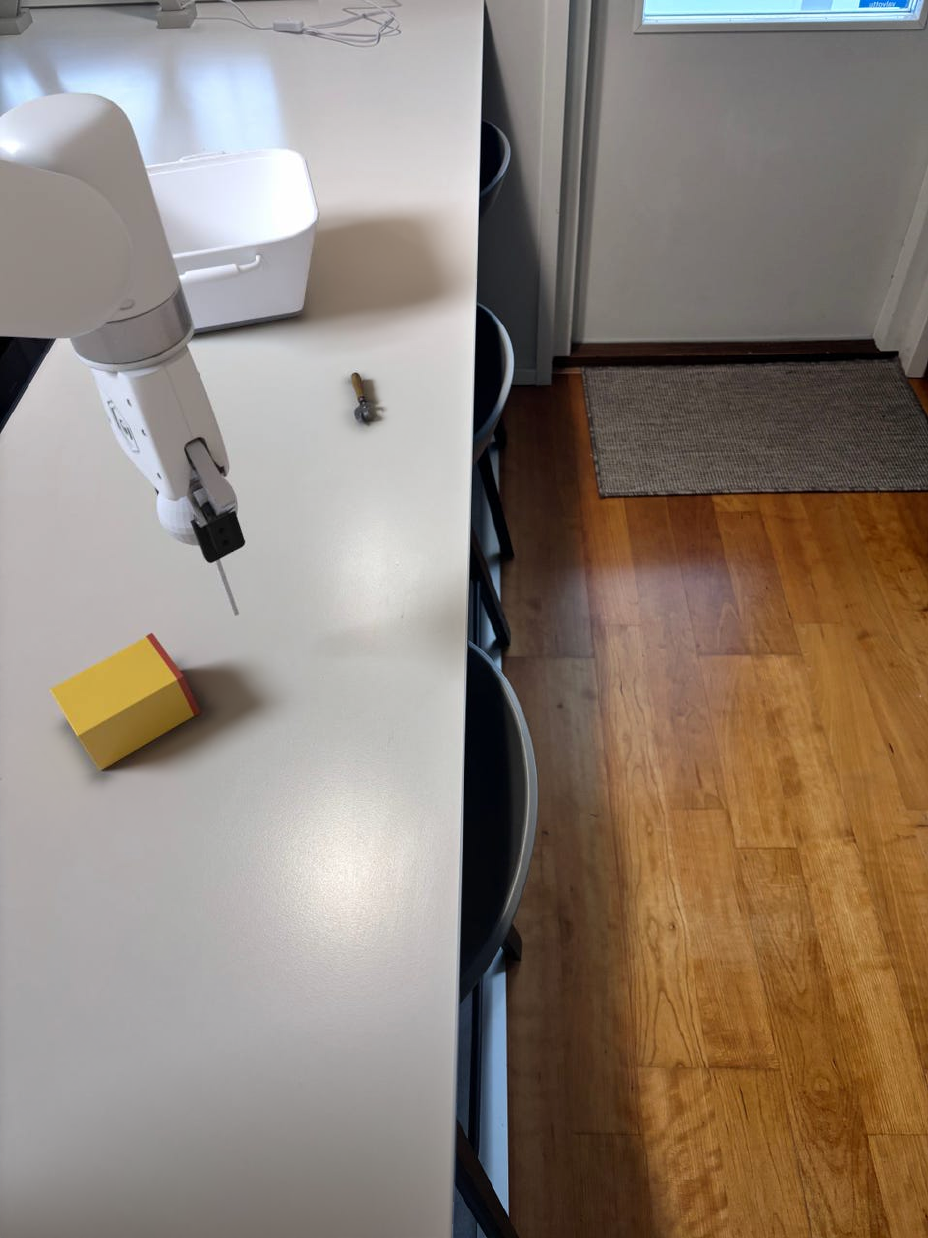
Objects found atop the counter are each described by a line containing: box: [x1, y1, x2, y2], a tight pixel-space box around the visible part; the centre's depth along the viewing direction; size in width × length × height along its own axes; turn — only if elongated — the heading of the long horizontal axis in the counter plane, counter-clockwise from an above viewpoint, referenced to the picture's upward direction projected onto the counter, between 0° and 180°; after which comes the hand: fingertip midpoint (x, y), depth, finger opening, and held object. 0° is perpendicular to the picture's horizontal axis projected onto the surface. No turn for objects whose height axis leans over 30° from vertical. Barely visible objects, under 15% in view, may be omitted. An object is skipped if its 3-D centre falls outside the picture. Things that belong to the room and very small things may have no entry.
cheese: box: [49, 632, 201, 771], centre depth 78 cm, size 9×6×5 cm
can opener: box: [350, 371, 375, 424], centre depth 108 cm, size 9×2×1 cm, turn 7°
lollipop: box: [156, 471, 240, 617], centre depth 75 cm, size 6×6×15 cm
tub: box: [145, 147, 320, 335], centre depth 121 cm, size 34×27×13 cm
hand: (204, 527), depth 73 cm, fingers closed on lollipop, 6 cm apart
